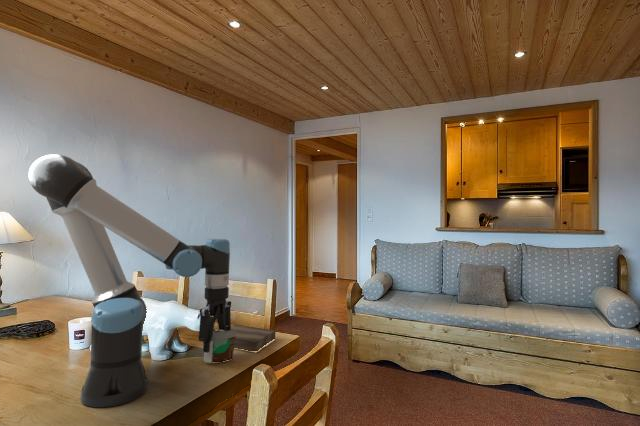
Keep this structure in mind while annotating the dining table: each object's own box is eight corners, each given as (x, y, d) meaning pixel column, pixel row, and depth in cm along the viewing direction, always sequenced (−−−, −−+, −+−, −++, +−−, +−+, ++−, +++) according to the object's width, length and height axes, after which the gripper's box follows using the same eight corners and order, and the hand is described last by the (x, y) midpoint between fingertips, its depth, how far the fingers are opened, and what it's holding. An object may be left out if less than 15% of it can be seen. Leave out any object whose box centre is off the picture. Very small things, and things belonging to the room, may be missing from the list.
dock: (256, 353, 123) (256, 341, 123) (212, 345, 130) (213, 334, 130) (275, 340, 136) (275, 330, 136) (234, 334, 143) (235, 324, 143)
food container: (192, 361, 115) (193, 330, 115) (203, 354, 121) (204, 325, 121) (226, 367, 111) (227, 334, 112) (236, 359, 117) (237, 329, 117)
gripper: (207, 292, 106) (205, 371, 106) (243, 282, 124) (241, 349, 124) (187, 290, 109) (184, 366, 108) (224, 281, 127) (222, 346, 126)
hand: (214, 357), depth 116 cm, fingers closed on food container, 6 cm apart
